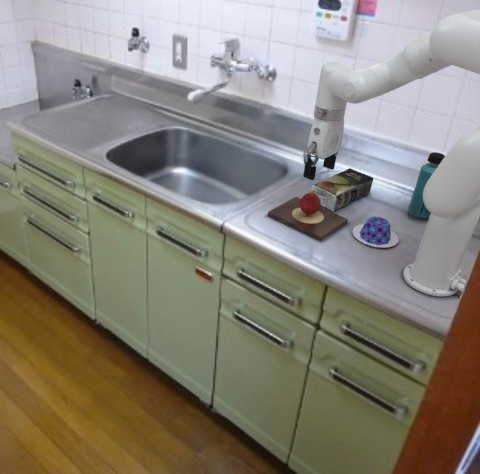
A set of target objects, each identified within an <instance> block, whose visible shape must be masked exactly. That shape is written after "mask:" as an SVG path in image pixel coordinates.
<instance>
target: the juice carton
mask: <svg viewBox="0 0 480 474" xmlns="http://www.w3.org/2000/svg"><path fill="white" fill-rule="evenodd" d="M373 182H374V177H373V176H371V175H368V174H365V173H362V172H360V171H358V170H355V169H353V168H350V167H349V168H347V169H345V170H344V171H339V172H338V173H336V174H334V175H332V176H330V177H327V178H325V179H323V180H321V181H318V182H316V183H313V184H312V185H311V190H314V191H315V192H314V193H315V194H316V195H317V196H318V197H319V198H320V202H321V206H320V207H322V208H324V209H326V210H328V211H331V212H333V213H335V212H336V211H338V210H340V209H342V208H344V207H345V206H347V205H348V204H351V203H353V202H356V201H357V200H360V199H362V198H364V197H366V196H368V195H370V193H371V190H372V187H373ZM311 190H310V191H311Z"/></svg>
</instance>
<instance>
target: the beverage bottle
mask: <svg viewBox="0 0 480 474" xmlns="http://www.w3.org/2000/svg"><path fill="white" fill-rule="evenodd" d="M445 156H446V155H445V154H444V153H441V152H437V151H436V152H430V153H429V156H428V157H427V163H425V164H422V165H421V166H420V170H419V174H418V176H417V180H416V184H415V187H414V188H413V191H412V194H411V198H410V201H409V204H408V207H407V209H408V213H409V214H410V215H411V216H413V217H416V218H419V219H426V218H429V217H430V215H431V212H429V211H428V209H427V208H426V206H425V204H424V201H423V191H424V187H425V185H426V183H427V182H428V180H429V178H430V177H431V176H432V174H433V173H434V171H435V170H436V169H437V167H438V166H439V164H440V163H441V161H442V160H443V159H444V157H445Z"/></svg>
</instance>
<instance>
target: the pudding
mask: <svg viewBox="0 0 480 474" xmlns="http://www.w3.org/2000/svg"><path fill="white" fill-rule="evenodd" d="M352 235H353V237H354V238H355V239H356V240H358V241H359V242H361V243H363V244H365V245H367V246H369V247H370V246H371V247H374V248H385V249H386V248H390V247H393V246H396V245H397V244H398V243H399V236H398V235H397V234H396V233H395V232H394V231H393V230H391V223H390V221H388V220H387V219H386V218H383V217H381V216H371V217H369V218H368V219H367V220H365V223H362V224H361V223H360V224H358V225H356V226H354V227H353V228H352Z"/></svg>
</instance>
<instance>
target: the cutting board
mask: <svg viewBox="0 0 480 474" xmlns="http://www.w3.org/2000/svg"><path fill="white" fill-rule="evenodd" d="M300 200H301V198H300V197H298V196H295V197H292V198H290V199H289V200H286V201H285V202H283V203H281V204H280V205H277V206H276V207H274V208H272V209H271V210H269V211H268V212H267V217H269V218H271V219H273V220H275V221H277V222H278V223H281V224H283V225H285V226H287V227H289V228H291V229H293V230H296V231H298V232H300V233H302V234H304V235H307V236H309V237H310V238H312V239H315V240H316V241H319V242H322V241H323V240H325V239H327V238H328V237H329V236H331V235H332V234H334V233H335V232H337V231H338V230H340V229H342V228H343V227H344V226H346V225H347V224H348V222H349V218H346V217H345V216H342V215H340V214H337V213H335V212H333V211H331V210H329V209H327V208H325V207H322V206H320V209H319V210H318V211H317V212H316V213H314V214H312V215H306V214H305V213H303V212H302V210H301V209H300Z"/></svg>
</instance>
